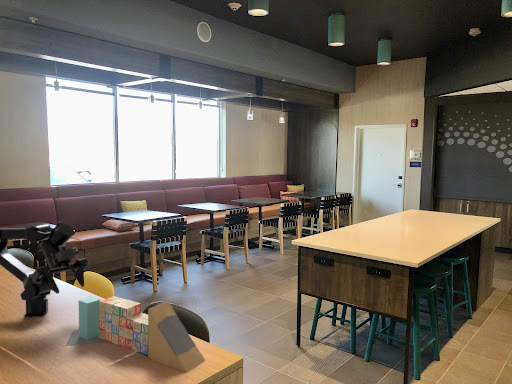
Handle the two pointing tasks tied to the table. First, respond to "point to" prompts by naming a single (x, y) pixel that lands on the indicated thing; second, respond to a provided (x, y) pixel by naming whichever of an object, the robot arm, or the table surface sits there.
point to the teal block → (89, 318)
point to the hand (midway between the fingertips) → (71, 289)
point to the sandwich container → (171, 339)
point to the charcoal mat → (78, 340)
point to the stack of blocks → (123, 323)
